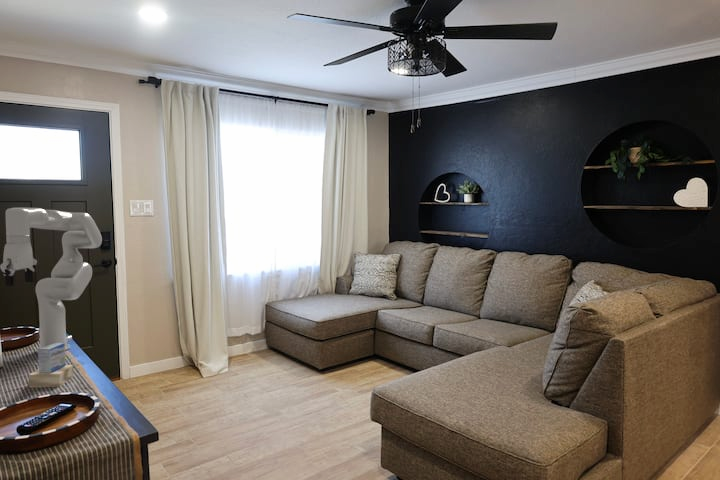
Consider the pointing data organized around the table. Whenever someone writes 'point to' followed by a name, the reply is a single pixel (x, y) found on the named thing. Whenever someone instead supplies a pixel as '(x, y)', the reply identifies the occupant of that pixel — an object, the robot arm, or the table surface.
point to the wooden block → (51, 377)
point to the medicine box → (51, 357)
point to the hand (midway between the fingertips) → (20, 283)
